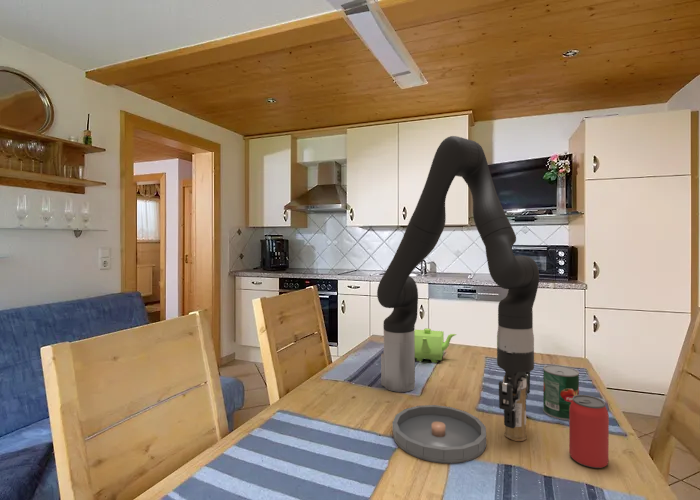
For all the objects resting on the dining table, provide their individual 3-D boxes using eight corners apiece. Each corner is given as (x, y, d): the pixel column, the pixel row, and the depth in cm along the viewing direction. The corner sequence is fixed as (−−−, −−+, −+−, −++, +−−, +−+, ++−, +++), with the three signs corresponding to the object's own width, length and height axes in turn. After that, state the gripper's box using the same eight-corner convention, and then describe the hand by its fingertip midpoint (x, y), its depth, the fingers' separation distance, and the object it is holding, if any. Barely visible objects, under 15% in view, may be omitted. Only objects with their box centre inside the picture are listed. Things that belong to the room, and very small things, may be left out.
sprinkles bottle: (530, 438, 84) (530, 377, 84) (518, 444, 82) (518, 382, 81) (512, 429, 88) (511, 371, 88) (499, 435, 86) (499, 376, 85)
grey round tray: (375, 440, 84) (375, 427, 84) (422, 409, 99) (422, 398, 99) (461, 476, 71) (461, 461, 71) (499, 434, 86) (499, 421, 86)
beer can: (562, 451, 79) (562, 394, 78) (592, 449, 79) (592, 392, 79) (584, 471, 72) (584, 408, 72) (616, 468, 73) (617, 406, 72)
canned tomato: (545, 403, 101) (545, 362, 101) (580, 411, 97) (580, 368, 97) (540, 415, 95) (540, 371, 95) (577, 423, 90) (577, 377, 90)
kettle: (457, 361, 137) (457, 330, 137) (426, 368, 130) (425, 336, 130) (429, 350, 150) (429, 322, 150) (400, 356, 144) (400, 327, 143)
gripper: (508, 337, 92) (509, 405, 93) (485, 350, 81) (486, 427, 82) (542, 342, 87) (542, 414, 88) (522, 357, 76) (523, 439, 77)
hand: (515, 420), depth 85 cm, fingers open, 6 cm apart
